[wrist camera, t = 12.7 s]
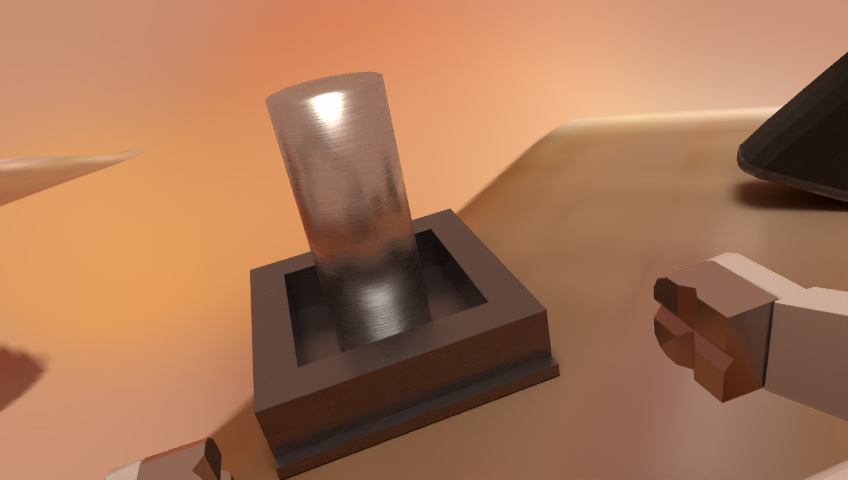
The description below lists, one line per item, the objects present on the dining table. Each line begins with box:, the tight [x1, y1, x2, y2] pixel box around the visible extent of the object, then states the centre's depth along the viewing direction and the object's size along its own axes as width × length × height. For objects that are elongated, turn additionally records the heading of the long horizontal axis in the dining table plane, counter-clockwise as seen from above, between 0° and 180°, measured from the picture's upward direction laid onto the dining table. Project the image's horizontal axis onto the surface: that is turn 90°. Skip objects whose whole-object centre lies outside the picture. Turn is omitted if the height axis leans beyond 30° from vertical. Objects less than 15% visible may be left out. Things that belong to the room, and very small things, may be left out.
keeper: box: [250, 209, 560, 480], centre depth 23 cm, size 10×13×8 cm
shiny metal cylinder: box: [266, 72, 432, 351], centre depth 21 cm, size 4×4×10 cm
